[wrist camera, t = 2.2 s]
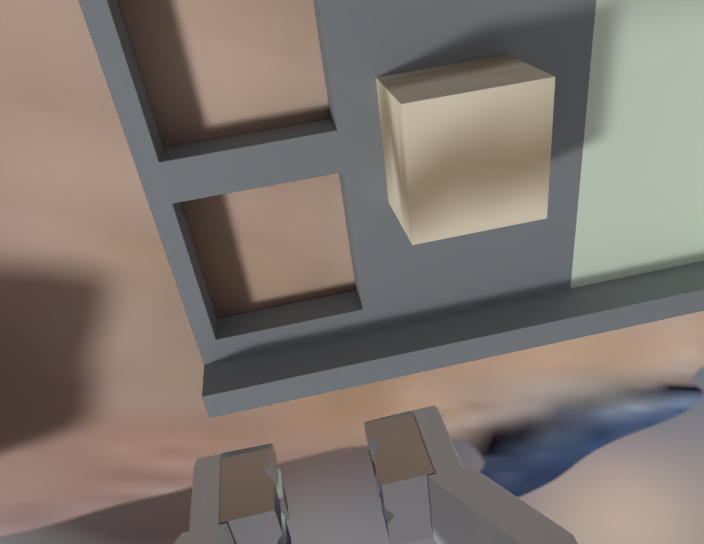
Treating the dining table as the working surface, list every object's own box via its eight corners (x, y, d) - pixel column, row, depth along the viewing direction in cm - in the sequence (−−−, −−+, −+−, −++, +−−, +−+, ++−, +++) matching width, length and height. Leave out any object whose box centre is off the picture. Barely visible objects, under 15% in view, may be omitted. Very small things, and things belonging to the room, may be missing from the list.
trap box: (47, -134, 21) (5, -148, 17) (840, -243, 24) (955, -276, 20) (212, 362, 34) (209, 417, 30) (718, 256, 36) (774, 295, 32)
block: (375, 77, 25) (400, 104, 21) (507, 54, 25) (555, 76, 22) (388, 202, 28) (412, 245, 24) (505, 180, 29) (546, 218, 25)
